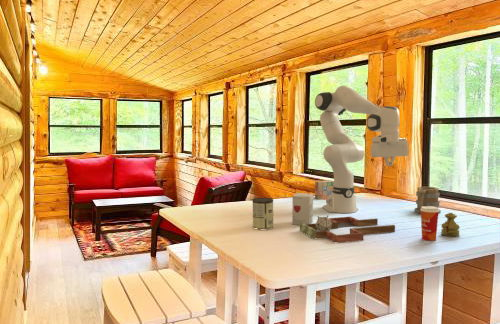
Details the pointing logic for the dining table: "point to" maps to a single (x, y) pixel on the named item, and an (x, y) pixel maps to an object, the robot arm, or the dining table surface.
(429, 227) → the paper cup
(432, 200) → the tankard
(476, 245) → the dining table surface
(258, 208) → the coffee can
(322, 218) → the game die
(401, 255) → the dining table surface
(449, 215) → the gold metal turned piece
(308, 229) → the trap channel
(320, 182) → the stack of blocks
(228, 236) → the dining table surface
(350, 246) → the dining table surface
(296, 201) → the supplement box
